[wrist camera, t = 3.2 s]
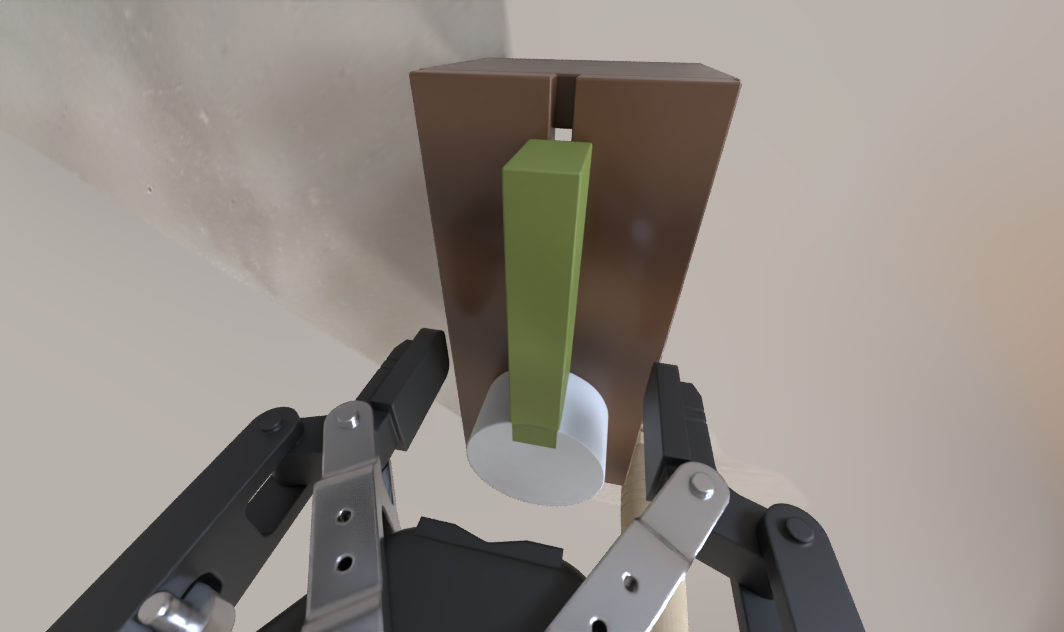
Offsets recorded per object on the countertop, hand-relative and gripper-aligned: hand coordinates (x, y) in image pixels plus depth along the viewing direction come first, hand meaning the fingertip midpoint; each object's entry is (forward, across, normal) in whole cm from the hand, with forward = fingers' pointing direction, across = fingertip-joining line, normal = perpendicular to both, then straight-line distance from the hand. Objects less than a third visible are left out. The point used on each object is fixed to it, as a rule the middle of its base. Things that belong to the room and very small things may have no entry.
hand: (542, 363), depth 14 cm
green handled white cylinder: (+2, 0, 0) cm, 2 cm away
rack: (+10, 0, 0) cm, 10 cm away
